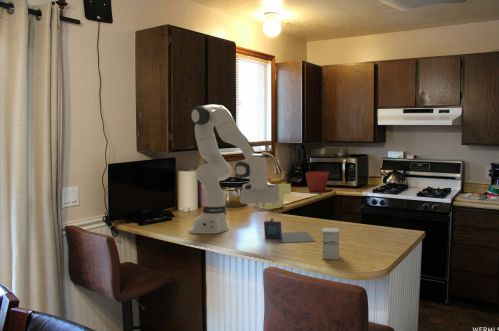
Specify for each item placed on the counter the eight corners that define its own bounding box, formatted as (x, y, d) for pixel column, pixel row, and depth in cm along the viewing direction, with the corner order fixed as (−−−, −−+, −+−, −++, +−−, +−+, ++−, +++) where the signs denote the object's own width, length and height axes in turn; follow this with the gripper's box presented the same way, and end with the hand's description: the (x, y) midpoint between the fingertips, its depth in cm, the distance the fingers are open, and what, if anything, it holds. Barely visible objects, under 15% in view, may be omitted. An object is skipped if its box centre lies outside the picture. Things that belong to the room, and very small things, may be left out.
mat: (279, 243, 220) (279, 242, 220) (274, 233, 240) (274, 233, 240) (315, 241, 221) (315, 241, 221) (307, 232, 241) (307, 231, 241)
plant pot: (328, 189, 396) (328, 171, 394) (327, 193, 377) (327, 173, 376) (307, 189, 400) (307, 171, 399) (305, 192, 382) (305, 173, 380)
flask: (282, 237, 230) (281, 217, 229) (281, 238, 227) (280, 218, 226) (265, 237, 232) (264, 217, 231) (264, 238, 229) (262, 218, 228)
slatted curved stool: (291, 208, 312) (291, 183, 310) (272, 211, 303) (272, 185, 302) (268, 202, 337) (267, 179, 336) (250, 205, 329) (250, 181, 328)
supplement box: (322, 259, 191) (322, 231, 190) (322, 254, 199) (322, 227, 197) (339, 260, 190) (339, 231, 189) (338, 255, 197) (338, 227, 196)
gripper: (278, 183, 230) (279, 209, 231) (239, 185, 229) (240, 211, 230) (279, 184, 224) (280, 211, 225) (239, 186, 223) (241, 213, 224)
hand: (260, 211), depth 228 cm, fingers closed
